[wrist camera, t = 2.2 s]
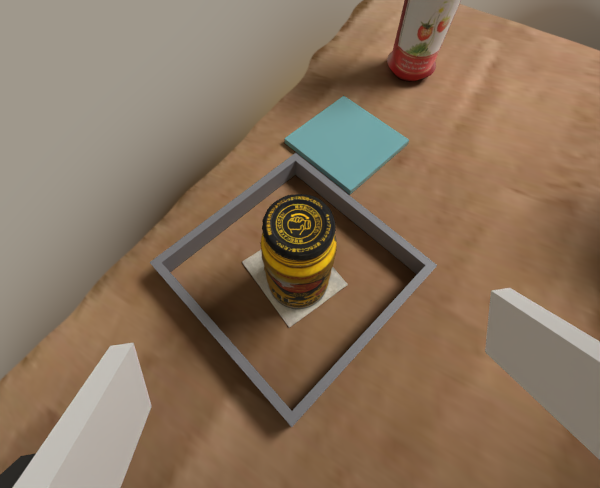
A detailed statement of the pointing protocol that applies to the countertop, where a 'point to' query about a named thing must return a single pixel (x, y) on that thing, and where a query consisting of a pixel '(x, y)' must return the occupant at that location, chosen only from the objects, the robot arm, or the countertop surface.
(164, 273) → the frame
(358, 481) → the countertop surface
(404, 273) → the countertop surface
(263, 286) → the condiment
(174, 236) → the countertop surface
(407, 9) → the liquor
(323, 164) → the coaster
